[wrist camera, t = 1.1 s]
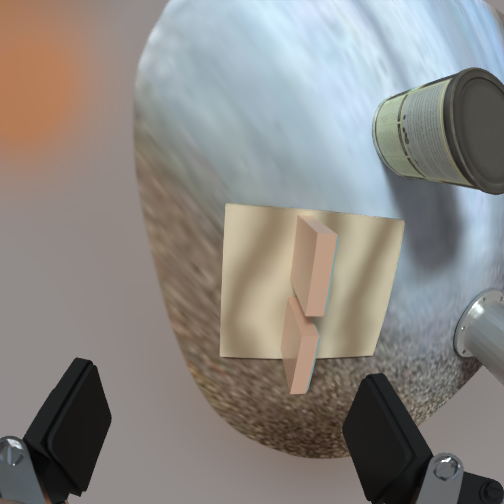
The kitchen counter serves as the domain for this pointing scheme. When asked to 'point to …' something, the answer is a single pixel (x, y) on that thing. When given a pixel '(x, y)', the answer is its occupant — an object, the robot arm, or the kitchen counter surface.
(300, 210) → the board
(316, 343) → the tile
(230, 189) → the kitchen counter surface
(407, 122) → the coffee can
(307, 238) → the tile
